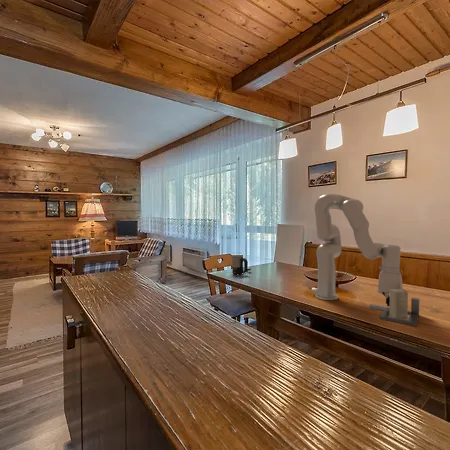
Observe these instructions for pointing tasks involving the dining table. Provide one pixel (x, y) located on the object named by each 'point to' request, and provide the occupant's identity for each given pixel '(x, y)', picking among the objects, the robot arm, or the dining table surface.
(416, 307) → the rail
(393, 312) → the skincare box
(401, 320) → the plate
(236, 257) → the milk frother
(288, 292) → the dining table surface
